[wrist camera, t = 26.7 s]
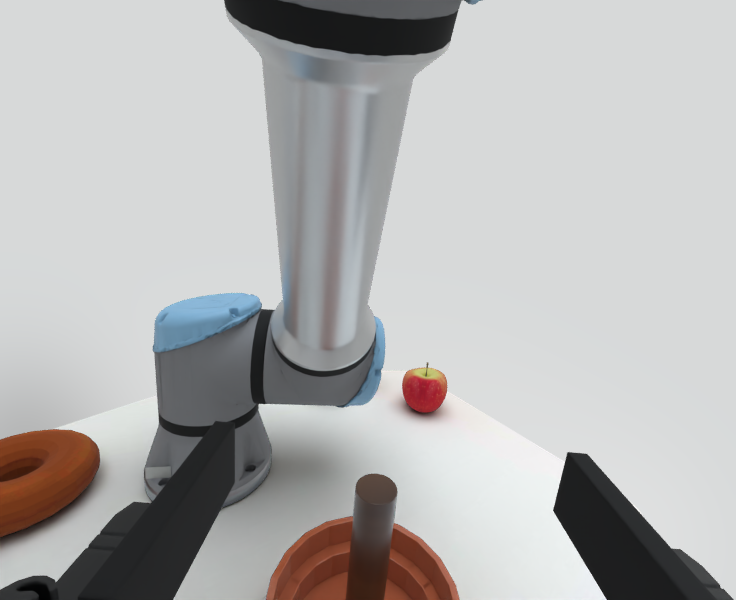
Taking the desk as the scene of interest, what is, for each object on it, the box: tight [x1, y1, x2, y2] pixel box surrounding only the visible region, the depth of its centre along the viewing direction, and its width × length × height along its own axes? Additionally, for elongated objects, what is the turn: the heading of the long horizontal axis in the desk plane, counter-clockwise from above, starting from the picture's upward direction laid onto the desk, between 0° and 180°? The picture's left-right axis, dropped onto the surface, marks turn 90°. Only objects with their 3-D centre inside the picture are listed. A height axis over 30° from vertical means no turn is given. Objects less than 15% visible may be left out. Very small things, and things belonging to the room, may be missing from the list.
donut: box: [0, 429, 100, 537], centre depth 40 cm, size 15×15×5 cm
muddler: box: [346, 474, 397, 600], centre depth 27 cm, size 5×5×15 cm
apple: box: [402, 363, 447, 413], centre depth 66 cm, size 8×8×10 cm
